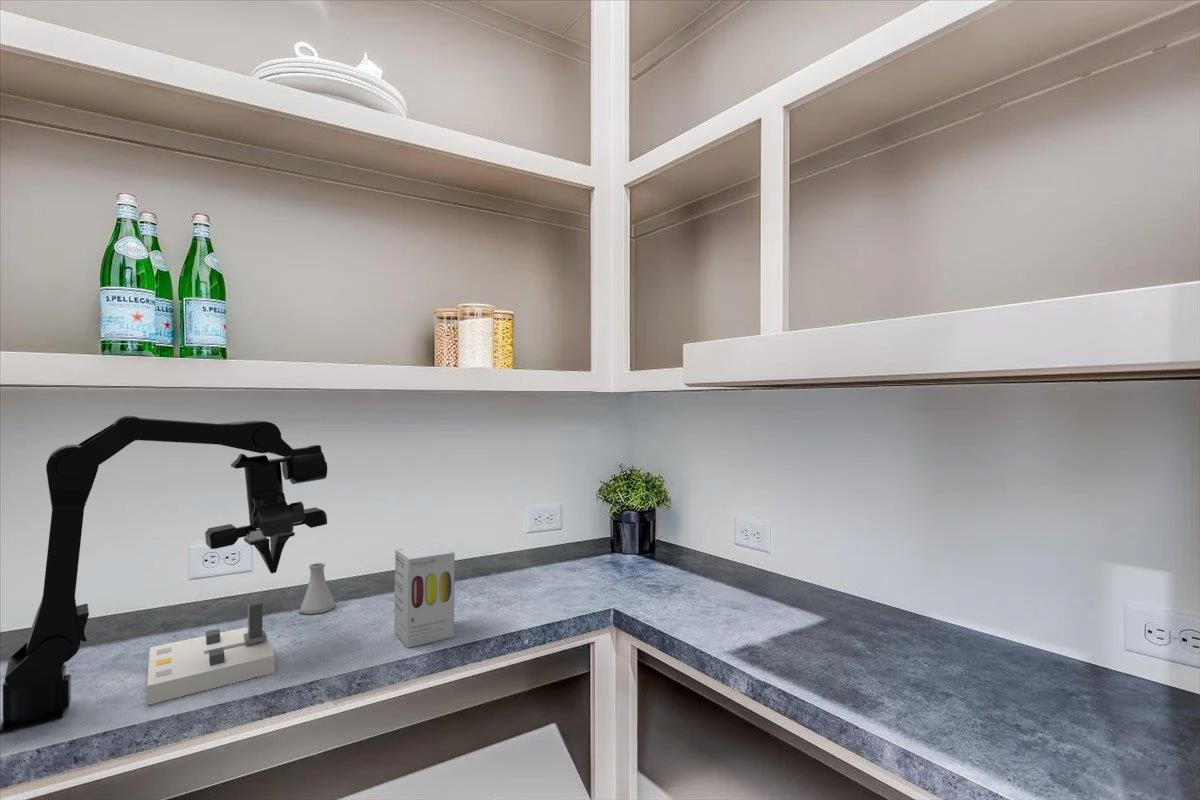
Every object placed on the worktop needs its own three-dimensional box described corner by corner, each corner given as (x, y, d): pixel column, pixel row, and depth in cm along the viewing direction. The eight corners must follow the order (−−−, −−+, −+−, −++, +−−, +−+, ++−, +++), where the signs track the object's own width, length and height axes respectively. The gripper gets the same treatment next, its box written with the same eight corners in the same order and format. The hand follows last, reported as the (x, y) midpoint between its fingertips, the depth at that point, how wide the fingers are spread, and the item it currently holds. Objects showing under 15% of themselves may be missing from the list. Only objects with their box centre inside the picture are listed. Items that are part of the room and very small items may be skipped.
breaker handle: (245, 645, 100) (245, 607, 100) (243, 638, 103) (243, 601, 103) (266, 640, 102) (266, 603, 102) (263, 633, 105) (263, 598, 105)
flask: (340, 603, 130) (340, 559, 130) (325, 615, 123) (325, 569, 123) (309, 603, 130) (309, 560, 130) (292, 615, 123) (292, 569, 123)
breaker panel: (147, 705, 87) (147, 676, 87) (150, 664, 100) (150, 638, 100) (274, 672, 97) (274, 646, 97) (261, 639, 110) (261, 616, 110)
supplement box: (406, 649, 106) (406, 559, 106) (392, 632, 114) (392, 548, 114) (456, 636, 112) (455, 551, 112) (439, 621, 119) (439, 541, 119)
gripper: (212, 504, 92) (221, 599, 92) (333, 483, 104) (341, 567, 105) (200, 497, 100) (209, 584, 101) (314, 478, 113) (321, 556, 113)
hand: (273, 572), depth 105 cm, fingers closed
